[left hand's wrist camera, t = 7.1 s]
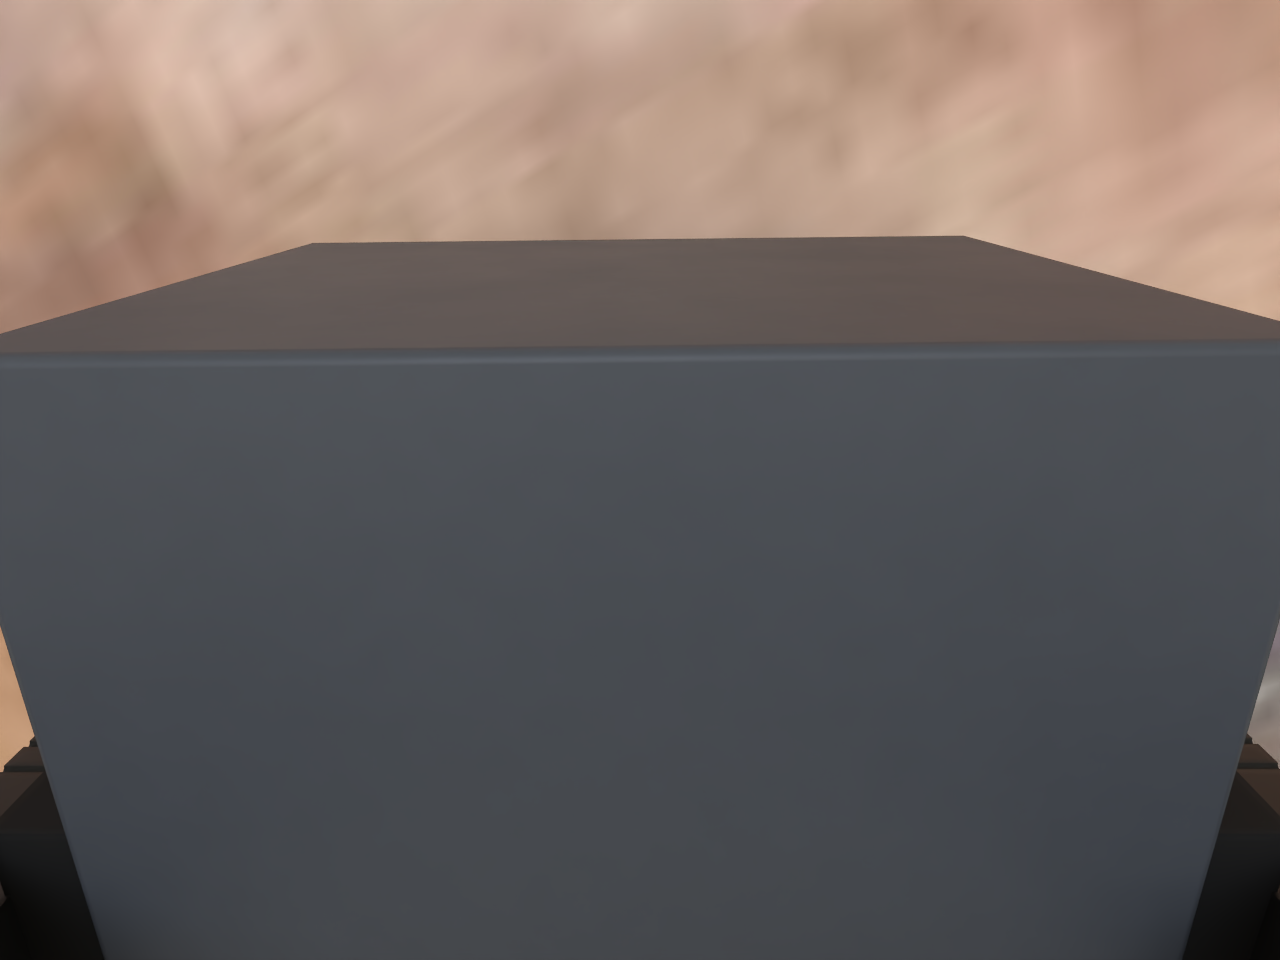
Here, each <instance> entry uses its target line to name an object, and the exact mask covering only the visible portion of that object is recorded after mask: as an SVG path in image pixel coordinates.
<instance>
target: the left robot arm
mask: <svg viewBox="0 0 1280 960" xmlns="http://www.w3.org/2000/svg"><path fill="white" fill-rule="evenodd" d="M0 960H104V956H103V953H102V950H101V947H100V944H99V940H98V937H97V934H96V931H95V928H94V924H93V921H92V918H91V915H90V912H89V908H88V905H87V902H86V899H85V896H84V892H83V889H82V886H81V883H80V880H79V876H78V873H77V870H76V867H75V863H74V860H73V857H72V854H71V851H70V847H69V844H68V841H67V838H66V835H65V831H64V828H63V825H62V822H61V819H60V815H59V812H58V809H57V806H56V803H55V799H54V796H53V793H52V790H51V787H50V783H49V780H48V777H47V774H46V770H45V767H44V764H43V761H42V758H41V754H40V751H39V748H38V745H37V742H36V738H35V736H34V737H33V738H32V739H31V740H30V745H29V747H23V748H22V749H21V750H20V751H19V752H18V753H17V754H16V755H15V756H14V757H13V758H12V759H11V760H10V761H9V762H8V763H7V764H6V765H4V771H3V772H0ZM1182 960H1280V769H1279V768H1278V763H1277V762H1276V761H1275V760H1274V759H1273V758H1272V757H1271V756H1270V755H1269V754H1268V753H1267V752H1266V751H1265V750H1264V749H1263V748H1262V747H1261V746H1260V745H1259V744H1253V743H1252V738H1251V737H1250V736H1249V735H1248V734H1247V735H1246V738H1245V742H1244V745H1243V749H1242V752H1241V756H1240V759H1239V763H1238V766H1237V770H1236V773H1235V777H1234V780H1233V784H1232V787H1231V791H1230V794H1229V798H1228V801H1227V805H1226V808H1225V812H1224V815H1223V819H1222V822H1221V826H1220V829H1219V833H1218V836H1217V840H1216V843H1215V847H1214V850H1213V854H1212V857H1211V861H1210V864H1209V868H1208V871H1207V875H1206V878H1205V882H1204V885H1203V889H1202V892H1201V896H1200V899H1199V902H1198V906H1197V909H1196V913H1195V916H1194V920H1193V923H1192V927H1191V930H1190V934H1189V937H1188V941H1187V944H1186V948H1185V951H1184V955H1183V958H1182Z"/></svg>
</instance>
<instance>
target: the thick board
mask: <svg viewBox="0 0 1280 960" xmlns="http://www.w3.org/2000/svg"><path fill="white" fill-rule="evenodd" d="M1279 619H1280V321H1277V320H1273V319H1270V318H1266V317H1262V316H1258V315H1255V314H1251V313H1247V312H1244V311H1240V310H1236V309H1233V308H1229V307H1225V306H1221V305H1218V304H1214V303H1210V302H1207V301H1203V300H1199V299H1196V298H1192V297H1188V296H1184V295H1181V294H1177V293H1173V292H1170V291H1166V290H1162V289H1159V288H1155V287H1151V286H1147V285H1144V284H1140V283H1136V282H1133V281H1129V280H1125V279H1121V278H1118V277H1114V276H1110V275H1107V274H1103V273H1099V272H1096V271H1092V270H1088V269H1084V268H1081V267H1077V266H1073V265H1070V264H1066V263H1062V262H1059V261H1055V260H1051V259H1047V258H1044V257H1040V256H1036V255H1033V254H1029V253H1025V252H1022V251H1018V250H1014V249H1010V248H1007V247H1003V246H999V245H996V244H992V243H988V242H985V241H981V240H977V239H973V238H970V237H966V236H906V237H817V238H728V239H639V240H551V241H462V242H373V243H311V244H308V245H305V246H301V247H298V248H294V249H291V250H287V251H284V252H281V253H277V254H274V255H270V256H267V257H263V258H260V259H256V260H253V261H250V262H246V263H243V264H239V265H236V266H232V267H229V268H226V269H222V270H219V271H215V272H212V273H208V274H205V275H201V276H198V277H195V278H191V279H188V280H184V281H181V282H177V283H174V284H171V285H167V286H164V287H160V288H157V289H153V290H150V291H146V292H143V293H140V294H136V295H133V296H129V297H126V298H122V299H119V300H116V301H112V302H109V303H105V304H102V305H98V306H95V307H91V308H88V309H85V310H81V311H78V312H74V313H71V314H67V315H64V316H60V317H57V318H54V319H50V320H47V321H43V322H40V323H36V324H33V325H30V326H26V327H23V328H19V329H16V330H12V331H9V332H5V333H2V334H0V626H1V629H2V633H3V636H4V639H5V642H6V645H7V649H8V652H9V655H10V658H11V661H12V665H13V668H14V671H15V674H16V677H17V681H18V684H19V687H20V690H21V694H22V697H23V700H24V703H25V706H26V710H27V713H28V716H29V719H30V722H31V726H32V729H33V732H34V735H35V738H36V742H37V745H38V748H39V751H40V754H41V758H42V761H43V764H44V767H45V770H46V774H47V777H48V780H49V783H50V787H51V790H52V793H53V796H54V799H55V803H56V806H57V809H58V812H59V815H60V819H61V822H62V825H63V828H64V831H65V835H66V838H67V841H68V844H69V847H70V851H71V854H72V857H73V860H74V863H75V867H76V870H77V873H78V876H79V880H80V883H81V886H82V889H83V892H84V896H85V899H86V902H87V905H88V908H89V912H90V915H91V918H92V921H93V924H94V928H95V931H96V934H97V937H98V940H99V944H100V947H101V950H102V953H103V956H104V960H1182V958H1183V955H1184V951H1185V948H1186V944H1187V941H1188V937H1189V934H1190V930H1191V927H1192V923H1193V920H1194V916H1195V913H1196V909H1197V906H1198V902H1199V899H1200V896H1201V892H1202V889H1203V885H1204V882H1205V878H1206V875H1207V871H1208V868H1209V864H1210V861H1211V857H1212V854H1213V850H1214V847H1215V843H1216V840H1217V836H1218V833H1219V829H1220V826H1221V822H1222V819H1223V815H1224V812H1225V808H1226V805H1227V801H1228V798H1229V794H1230V791H1231V787H1232V784H1233V780H1234V777H1235V773H1236V770H1237V766H1238V763H1239V759H1240V756H1241V752H1242V749H1243V745H1244V742H1245V738H1246V735H1247V731H1248V728H1249V724H1250V721H1251V717H1252V714H1253V710H1254V707H1255V703H1256V700H1257V696H1258V693H1259V689H1260V686H1261V682H1262V679H1263V675H1264V672H1265V668H1266V665H1267V661H1268V658H1269V654H1270V651H1271V647H1272V644H1273V640H1274V637H1275V633H1276V630H1277V626H1278V623H1279Z"/></svg>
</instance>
